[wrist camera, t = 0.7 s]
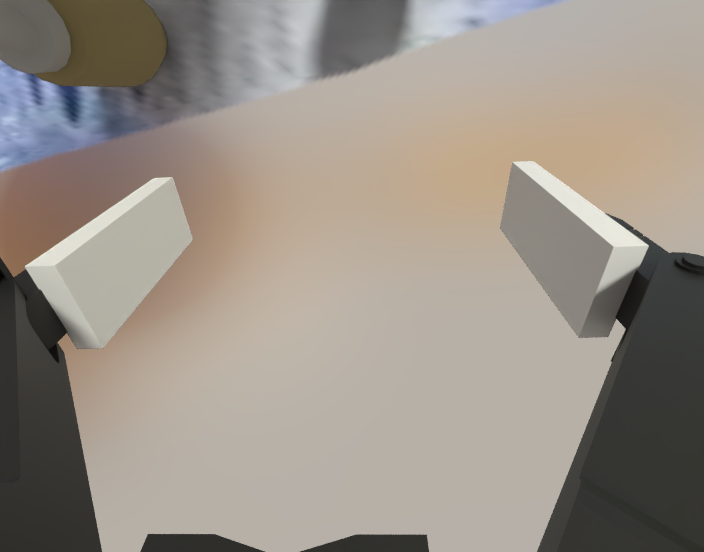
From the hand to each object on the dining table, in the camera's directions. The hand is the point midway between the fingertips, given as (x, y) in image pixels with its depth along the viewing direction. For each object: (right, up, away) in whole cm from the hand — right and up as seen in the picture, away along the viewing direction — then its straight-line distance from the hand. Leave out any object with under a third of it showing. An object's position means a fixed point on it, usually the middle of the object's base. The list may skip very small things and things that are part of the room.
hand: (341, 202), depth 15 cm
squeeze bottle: (-20, +20, +20) cm, 35 cm away
